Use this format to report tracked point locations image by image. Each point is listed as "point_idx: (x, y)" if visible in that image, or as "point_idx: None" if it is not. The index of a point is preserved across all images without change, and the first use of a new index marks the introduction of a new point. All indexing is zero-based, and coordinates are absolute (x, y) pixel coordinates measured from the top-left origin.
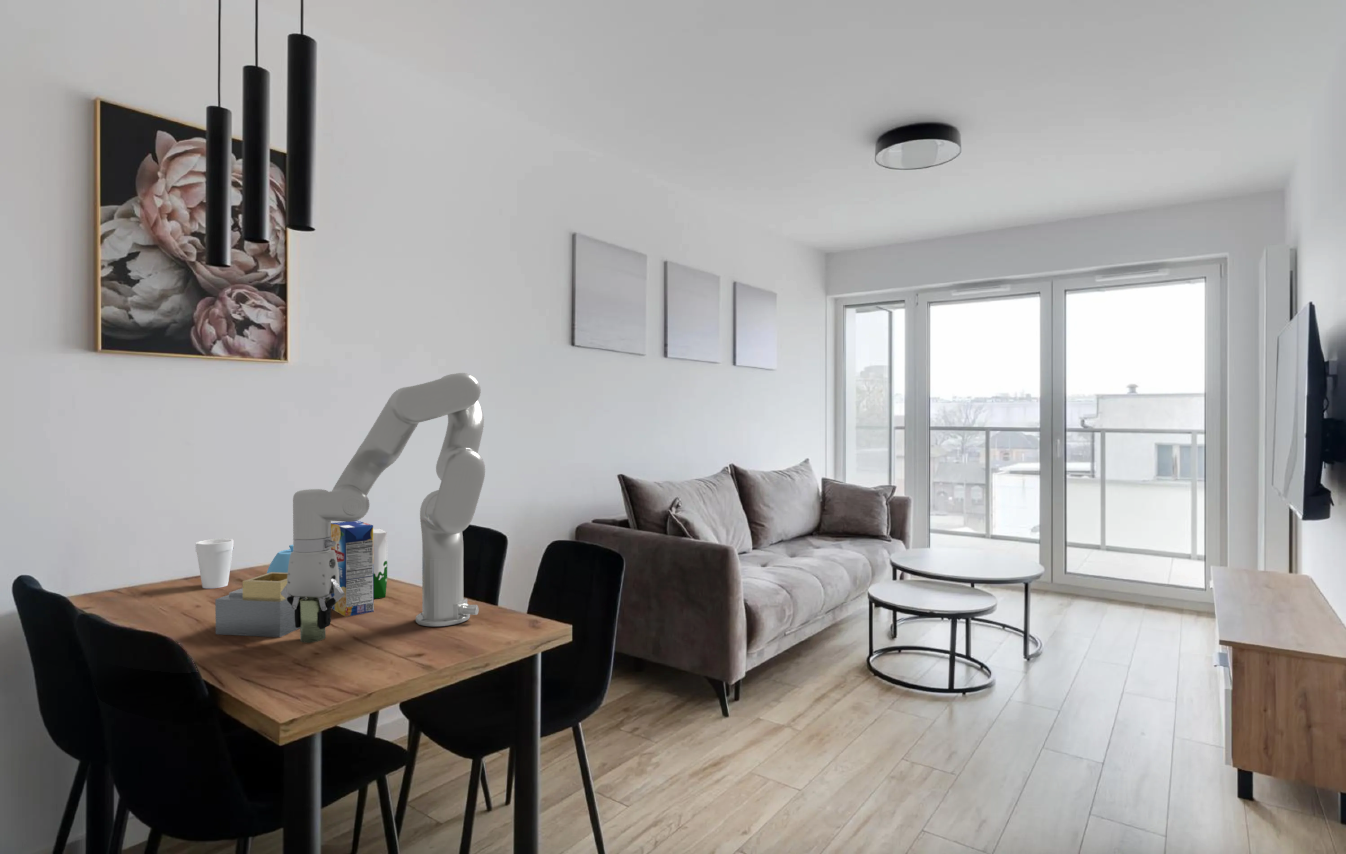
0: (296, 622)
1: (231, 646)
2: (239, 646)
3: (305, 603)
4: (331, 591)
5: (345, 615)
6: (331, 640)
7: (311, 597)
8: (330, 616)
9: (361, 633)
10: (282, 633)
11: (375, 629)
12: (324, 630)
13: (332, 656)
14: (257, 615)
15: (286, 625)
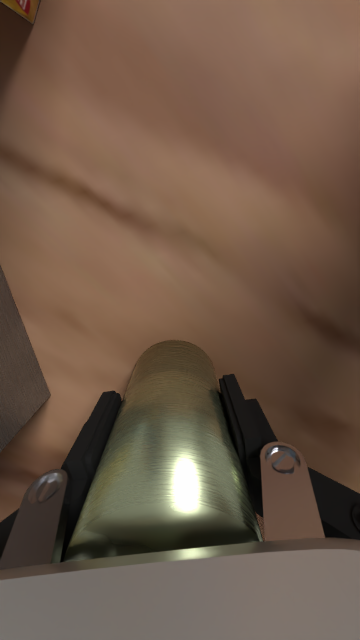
0: None
1: (3, 487)
2: (23, 482)
3: None
4: (310, 557)
5: (26, 15)
6: (251, 372)
7: None
8: (265, 420)
9: (313, 271)
10: (40, 389)
11: (346, 200)
12: (217, 381)
13: (349, 474)
14: None
15: (16, 384)
